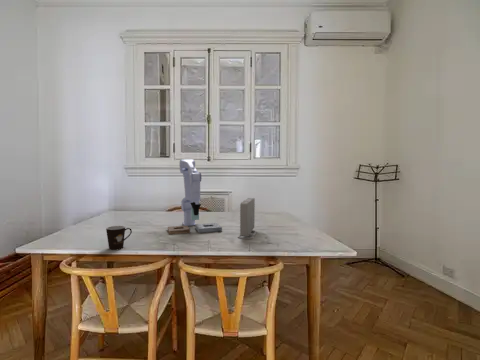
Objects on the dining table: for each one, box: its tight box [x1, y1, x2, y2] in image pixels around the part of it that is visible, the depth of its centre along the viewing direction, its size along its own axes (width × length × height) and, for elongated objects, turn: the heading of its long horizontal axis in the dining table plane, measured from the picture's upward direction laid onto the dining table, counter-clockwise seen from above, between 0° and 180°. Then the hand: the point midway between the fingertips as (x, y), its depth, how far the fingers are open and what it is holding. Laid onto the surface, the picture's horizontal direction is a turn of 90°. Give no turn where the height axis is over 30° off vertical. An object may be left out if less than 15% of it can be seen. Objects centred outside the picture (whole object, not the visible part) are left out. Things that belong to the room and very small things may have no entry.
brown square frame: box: [167, 225, 191, 235], centre depth 181 cm, size 12×12×2 cm
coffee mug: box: [105, 225, 132, 251], centre depth 146 cm, size 12×9×10 cm
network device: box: [237, 197, 258, 240], centre depth 173 cm, size 26×9×20 cm, turn 168°
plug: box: [191, 208, 200, 221], centre depth 183 cm, size 3×4×7 cm
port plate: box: [194, 222, 223, 234], centre depth 186 cm, size 14×14×2 cm
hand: (195, 214), depth 184 cm, fingers closed on plug, 3 cm apart
